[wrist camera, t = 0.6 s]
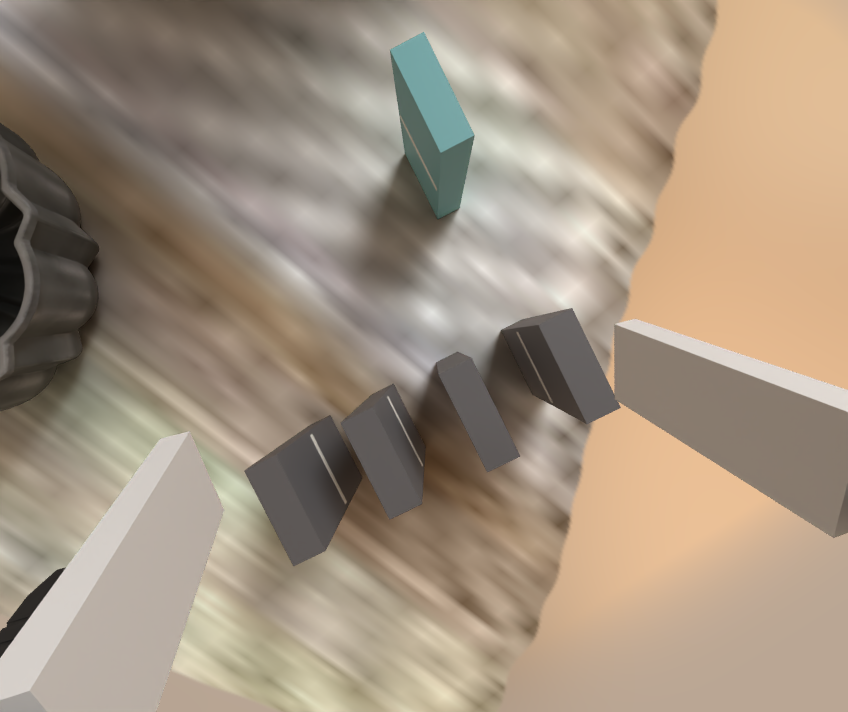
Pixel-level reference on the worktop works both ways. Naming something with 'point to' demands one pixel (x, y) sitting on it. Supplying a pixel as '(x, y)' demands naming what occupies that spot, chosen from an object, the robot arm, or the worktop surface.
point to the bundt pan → (39, 273)
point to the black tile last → (306, 488)
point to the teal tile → (431, 124)
